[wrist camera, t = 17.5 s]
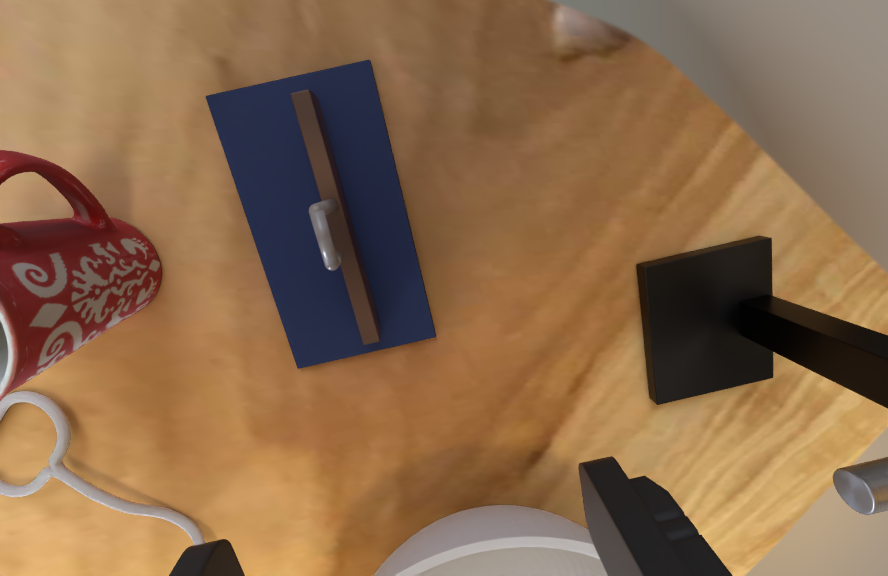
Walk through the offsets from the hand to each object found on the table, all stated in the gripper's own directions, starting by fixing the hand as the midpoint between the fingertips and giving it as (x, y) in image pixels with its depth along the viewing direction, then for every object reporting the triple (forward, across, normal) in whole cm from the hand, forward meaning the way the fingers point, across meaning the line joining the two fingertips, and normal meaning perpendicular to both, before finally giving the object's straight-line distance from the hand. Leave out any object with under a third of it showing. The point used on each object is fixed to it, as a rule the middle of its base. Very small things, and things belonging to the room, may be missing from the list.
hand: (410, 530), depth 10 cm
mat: (+24, +5, -5) cm, 25 cm away
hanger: (+24, +4, -5) cm, 24 cm away
